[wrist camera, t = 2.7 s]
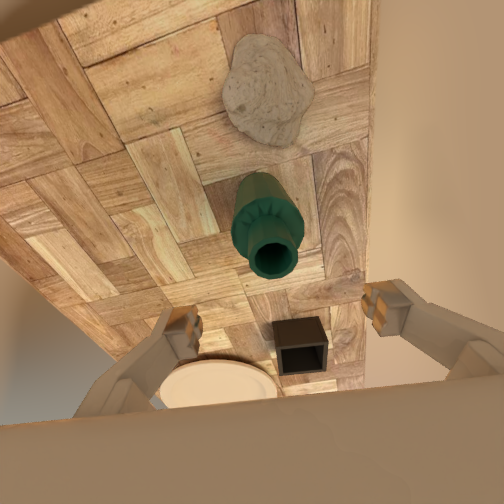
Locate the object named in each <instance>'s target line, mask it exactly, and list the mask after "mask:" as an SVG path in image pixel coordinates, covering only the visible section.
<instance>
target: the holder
mask: <svg viewBox="0 0 504 504" xmlns="http://www.w3.org/2000/svg"><path fill="white" fill-rule="evenodd" d="M272 324H273V331H274V339H275V347H276V354H277V362H278V369H279V376H283V375H294V374H304V373H314V372H324V371H326V367H327V355H328V343H329V341H328V339H327V336H326V334H325V331H324V329H323V326H322V324H321V321H320V319H319V316H318V317H309V318H301V319H292V320H283V321H274V322H272Z"/></svg>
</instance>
